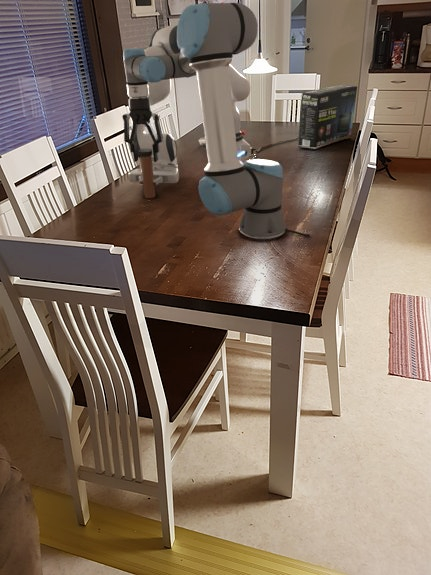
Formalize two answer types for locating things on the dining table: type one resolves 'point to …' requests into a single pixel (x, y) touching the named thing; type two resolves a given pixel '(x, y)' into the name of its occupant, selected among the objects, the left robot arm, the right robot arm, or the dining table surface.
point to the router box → (326, 115)
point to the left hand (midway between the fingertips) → (147, 182)
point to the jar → (147, 176)
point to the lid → (144, 152)
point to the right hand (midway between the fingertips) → (146, 160)
